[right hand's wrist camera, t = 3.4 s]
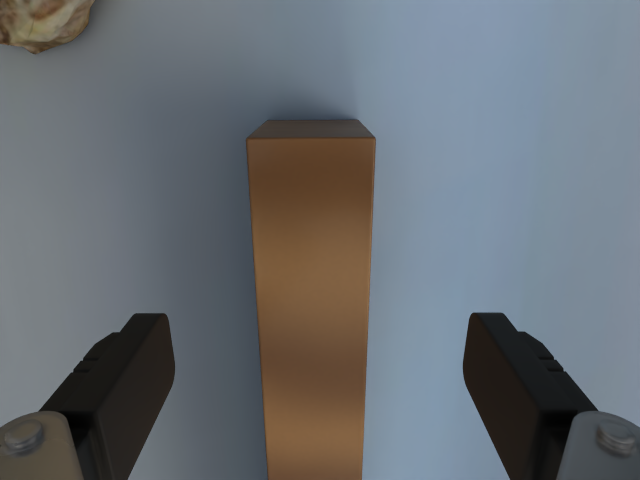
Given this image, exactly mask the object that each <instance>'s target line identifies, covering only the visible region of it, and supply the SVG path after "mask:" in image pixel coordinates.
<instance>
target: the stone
mask: <svg viewBox="0 0 640 480" xmlns="http://www.w3.org/2000/svg"><path fill="white" fill-rule="evenodd" d="M94 1H95V0H0V44H6V45H13V46H23V47H24V48H26V49H27V50H28V51H30V52H31V53H33V54H37V53H40V52H42V51H45V50H47V49H50V48H52V47H55V46H58V45H61V44H64V43H67V42H70V41H72V40H74V39H75V38H76V37H77V36H78V35H79V34H80V33H82V31H83V30H84V29H85V27H86V26H87V25H88V21H89V13H90V7H91V6H92V4H93V3H94Z"/></svg>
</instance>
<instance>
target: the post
mask: <svg viewBox="0 0 640 480" xmlns="http://www.w3.org/2000/svg"><path fill="white" fill-rule="evenodd" d="M375 146H376V139H375V137H374V136H373V135H372V134H371V133H370V132H369V131H368V129H367V128H366V127H365V126H364V125H363V124H362V123H361V122H360V121H359V120H267V121H266V122H265V123H264V124H262V125H261V126H260V127H259V128H258V129H257V130H255V131H254V132H253V133H252V134H251V135H250V136H248V137H247V138H246V150H247V165H248V181H249V196H250V212H251V227H252V242H253V258H254V273H255V289H256V304H257V319H258V335H259V350H260V366H261V381H262V396H263V412H264V427H265V443H266V458H267V473H268V480H362V462H363V438H364V414H365V389H366V365H367V341H368V316H369V292H370V268H371V244H372V219H373V195H374V171H375Z"/></svg>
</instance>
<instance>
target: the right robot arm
mask: <svg viewBox="0 0 640 480" xmlns="http://www.w3.org/2000/svg"><path fill="white" fill-rule="evenodd" d="M174 375H175V361H174V354H173V347H172V340H171V333H170V326H169V320H168V317H167V315H166V314H164V313H136V314H134V315H133V316H132V317H131V318H130V320H129V321H128V322H127V323H126V325H125V326H124V327H123V329H122V330H121V331H120V332H113V333H111V334H110V335H108V336H107V337H105V338H104V339H102V340H101V341H99V342H97V343H96V344H95V345H94V346H93V347H92V348H91V349H90V351H89V352H88V353H87V354H86V355H85V357H84V358H83V361H80V362H79V364H78V365H77V366H76V367H75V368H74V371H73V373H70V374H69V376H68V377H67V378H66V379H65V380H64V382H63V383H62V384H61V385H60V386H59V388H58V389H57V390H56V391H55V392H54V393H53V395H52V396H51V397H50V398H49V399H48V401H47V402H46V403H45V404H44V405H43V407H42V408H41V409H40V410H39V411H38V412H34V413H30V414H27V415H24V416H21V417H19V418H16V419H14V420H12V421H10V422H8V423H7V424H5V425H4V426H2V427H0V480H127V479H128V477H129V475H130V473H131V471H132V469H133V467H134V465H135V463H136V461H137V458H138V456H139V454H140V452H141V450H142V448H143V446H144V444H145V442H146V440H147V438H148V435H149V433H150V431H151V429H152V427H153V425H154V423H155V421H156V419H157V417H158V414H159V412H160V410H161V408H162V406H163V404H164V402H165V400H166V398H167V396H168V393H169V391H170V389H171V387H172V384H173V380H174ZM463 375H464V380H465V384H466V387H467V389H468V391H469V393H470V395H471V397H472V400H473V402H474V404H475V406H476V408H477V410H478V412H479V414H480V417H481V419H482V421H483V423H484V425H485V427H486V429H487V431H488V433H489V436H490V438H491V440H492V442H493V444H494V446H495V448H496V450H497V453H498V455H499V457H500V459H501V461H502V463H503V465H504V467H505V470H506V472H507V474H508V476H509V478H510V480H640V427H638V426H636V425H635V424H633V423H632V422H630V421H628V420H626V419H624V418H621V417H619V416H616V415H613V414H610V413H606V412H600V411H598V410H597V408H596V407H595V406H594V405H593V404H592V402H591V401H590V400H589V399H588V398H587V396H586V395H585V394H584V393H583V392H582V390H581V389H580V388H579V387H578V386H577V384H576V383H575V382H574V381H573V380H572V378H571V377H570V376H569V375H568V374H567V372H564V371H563V368H562V366H561V365H560V364H559V363H558V361H557V360H554V357H553V355H552V354H551V353H550V352H549V351H548V349H547V348H546V347H545V346H544V345H543V343H541V342H540V341H538V340H537V339H535V338H534V337H532V336H530V335H529V334H527V333H526V332H518V331H517V330H516V329H515V327H514V326H513V325H512V323H511V322H510V321H509V320H508V318H507V317H506V316H505V315H504V314H503V313H472V314H471V316H470V319H469V324H468V331H467V338H466V345H465V352H464V359H463Z"/></svg>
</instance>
